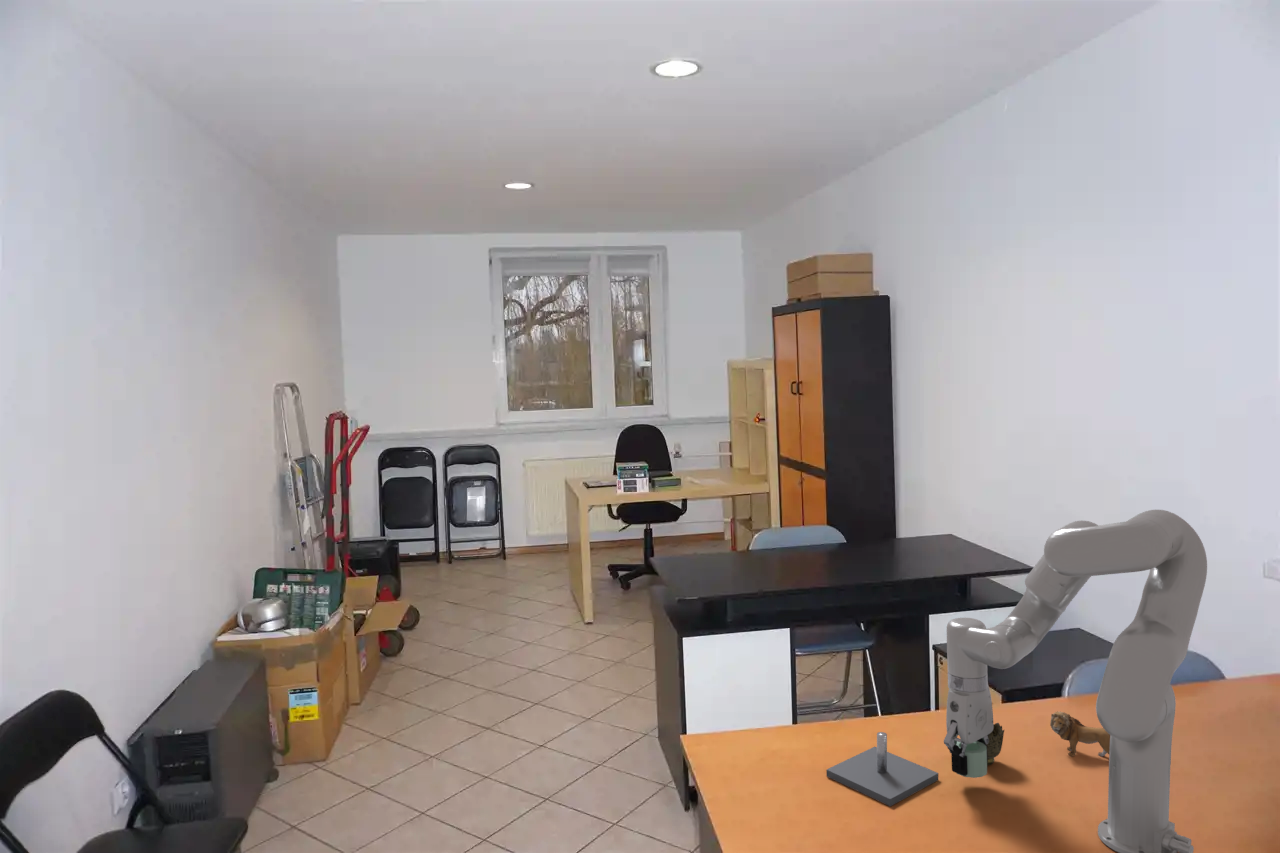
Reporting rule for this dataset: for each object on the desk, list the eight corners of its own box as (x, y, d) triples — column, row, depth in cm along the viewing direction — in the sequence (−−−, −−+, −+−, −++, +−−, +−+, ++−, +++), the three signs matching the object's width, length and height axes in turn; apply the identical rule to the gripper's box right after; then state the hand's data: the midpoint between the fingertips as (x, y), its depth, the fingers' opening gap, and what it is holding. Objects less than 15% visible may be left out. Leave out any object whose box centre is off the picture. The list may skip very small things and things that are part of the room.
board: (938, 779, 185) (938, 773, 185) (890, 806, 175) (890, 799, 175) (874, 753, 198) (874, 746, 198) (826, 776, 188) (826, 769, 188)
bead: (993, 770, 181) (992, 746, 180) (975, 780, 177) (974, 756, 177) (964, 760, 186) (964, 736, 186) (946, 770, 182) (946, 746, 182)
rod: (889, 771, 186) (888, 734, 185) (882, 774, 185) (882, 737, 184) (881, 767, 188) (880, 731, 187) (875, 771, 187) (874, 733, 186)
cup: (1006, 771, 188) (1007, 735, 187) (969, 769, 189) (969, 732, 188) (1000, 755, 195) (1000, 719, 194) (964, 753, 196) (964, 718, 196)
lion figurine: (1049, 755, 194) (1050, 715, 193) (1049, 745, 199) (1050, 706, 198) (1126, 767, 188) (1127, 726, 187) (1125, 756, 193) (1126, 716, 192)
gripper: (959, 697, 172) (962, 788, 173) (1008, 674, 182) (1010, 760, 184) (925, 687, 178) (928, 775, 179) (975, 665, 188) (977, 748, 190)
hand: (969, 766), depth 181 cm, fingers closed on bead, 6 cm apart
